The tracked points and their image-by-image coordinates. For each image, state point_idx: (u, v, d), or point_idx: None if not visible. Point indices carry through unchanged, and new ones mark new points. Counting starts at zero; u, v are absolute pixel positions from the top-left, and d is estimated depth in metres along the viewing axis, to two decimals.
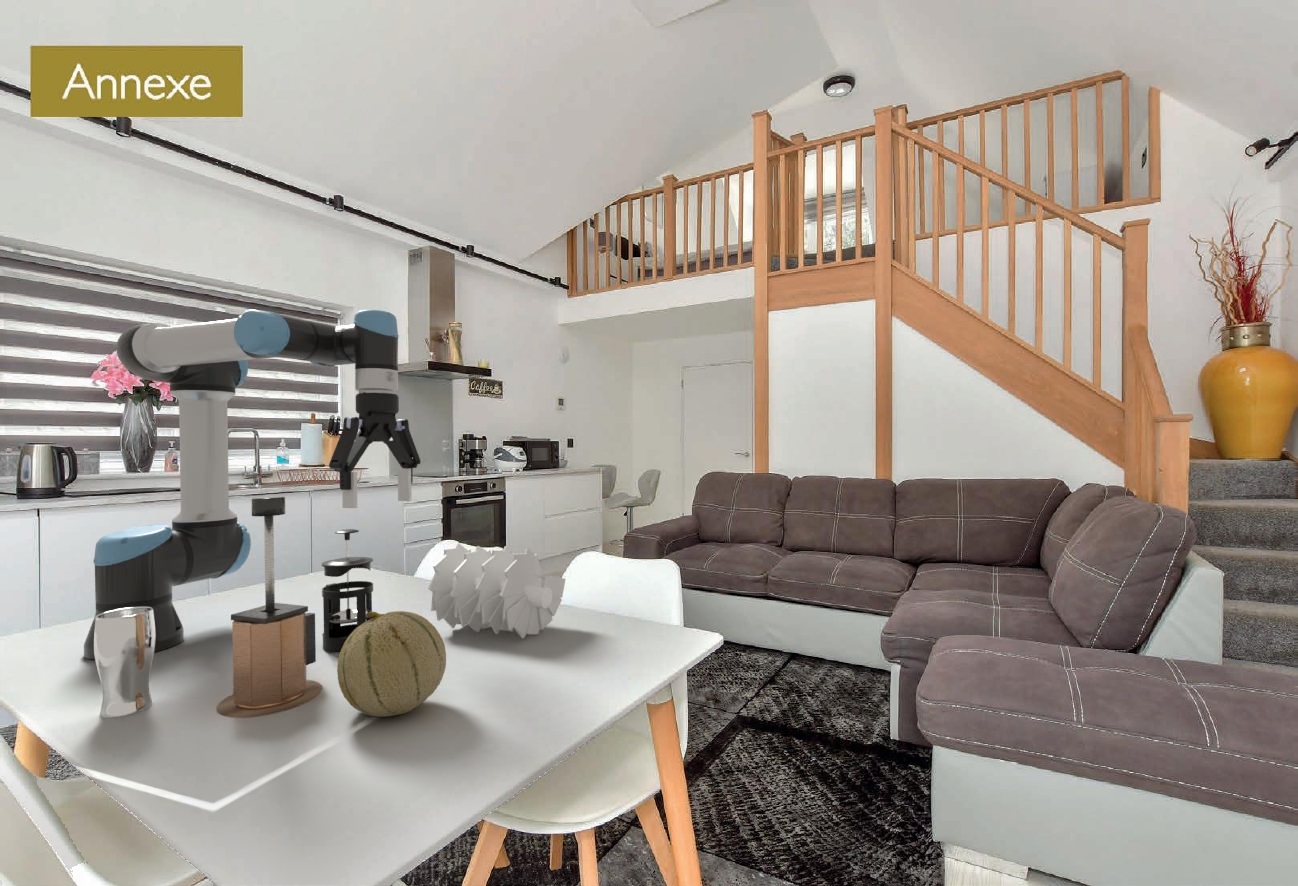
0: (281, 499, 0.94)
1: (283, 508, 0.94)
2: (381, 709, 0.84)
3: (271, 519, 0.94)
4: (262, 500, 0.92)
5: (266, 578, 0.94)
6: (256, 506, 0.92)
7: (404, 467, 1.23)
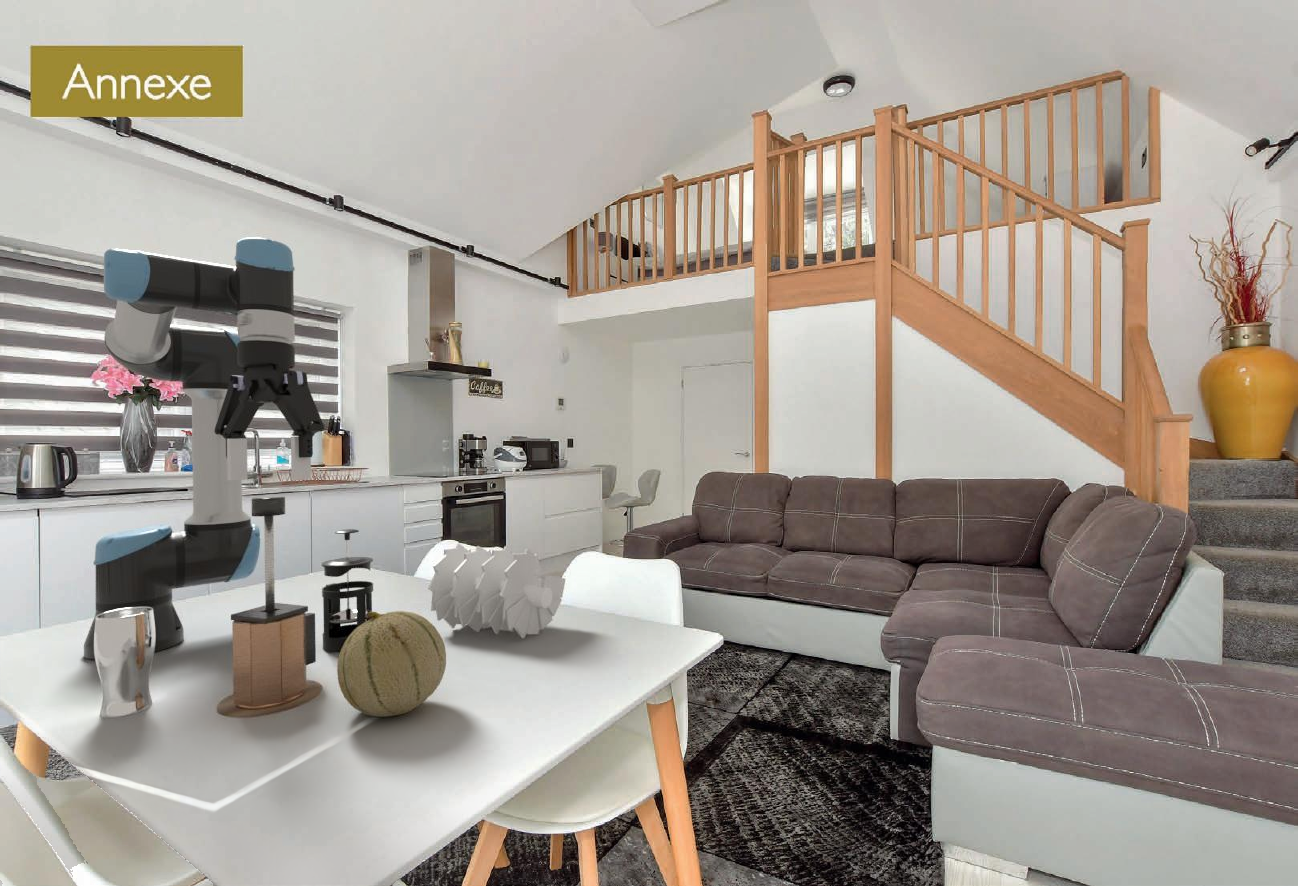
0: (281, 499, 0.94)
1: (283, 508, 0.94)
2: (381, 709, 0.84)
3: (271, 519, 0.94)
4: (262, 500, 0.92)
5: (266, 578, 0.94)
6: (256, 506, 0.92)
7: None
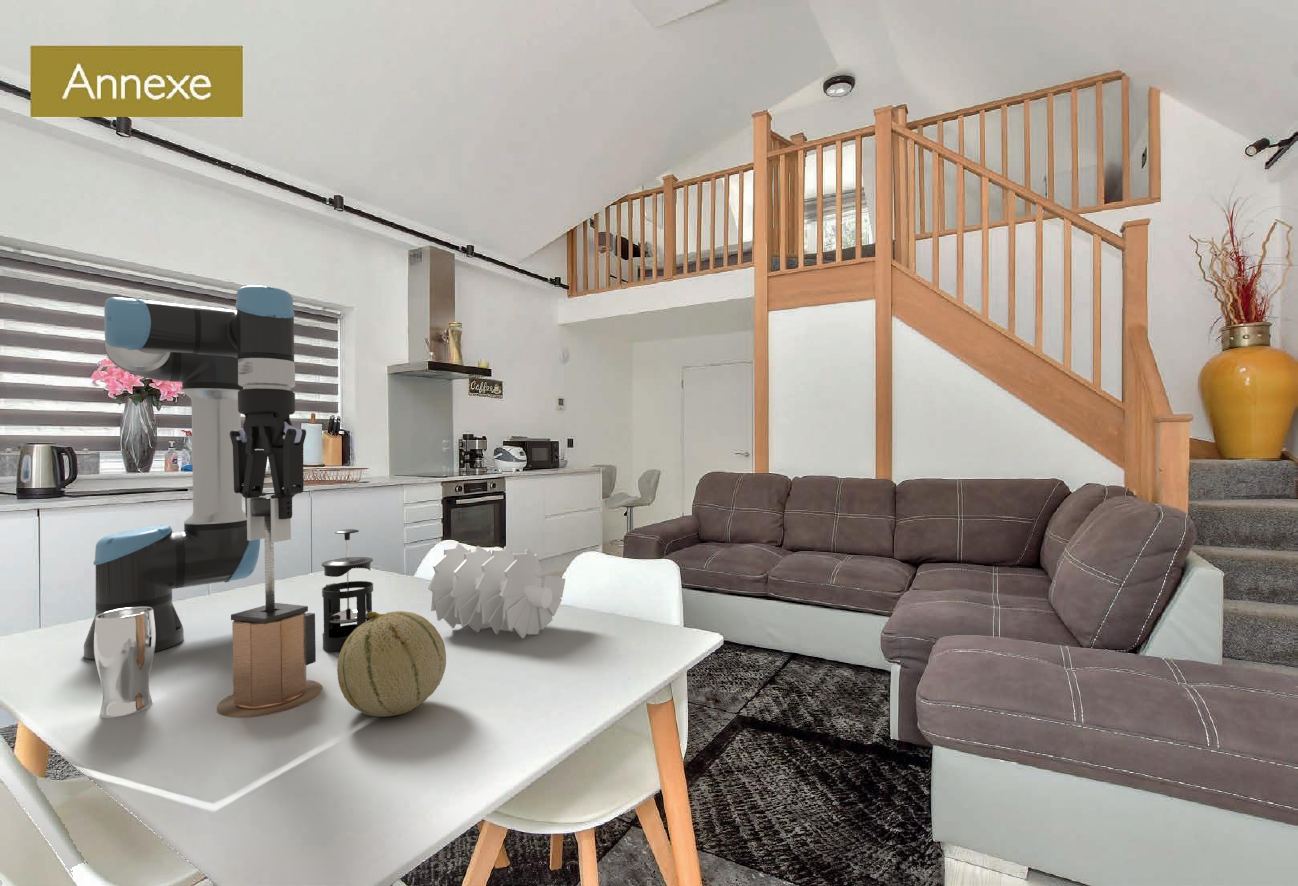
0: None
1: None
2: (381, 709, 0.84)
3: None
4: (262, 500, 0.92)
5: (266, 578, 0.94)
6: (256, 506, 0.92)
7: None
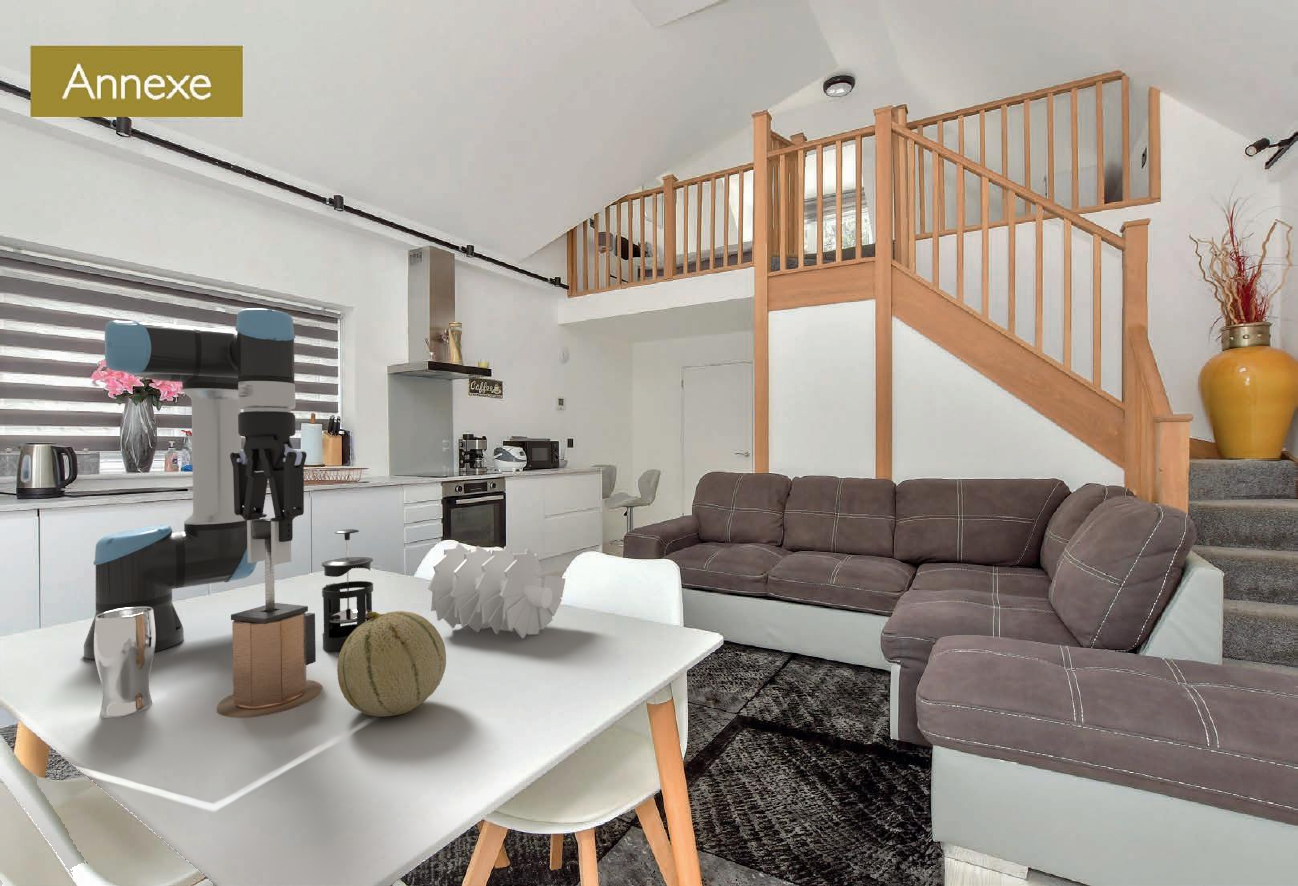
0: None
1: None
2: (381, 709, 0.84)
3: None
4: (262, 523, 0.92)
5: (266, 600, 0.94)
6: (256, 529, 0.92)
7: None
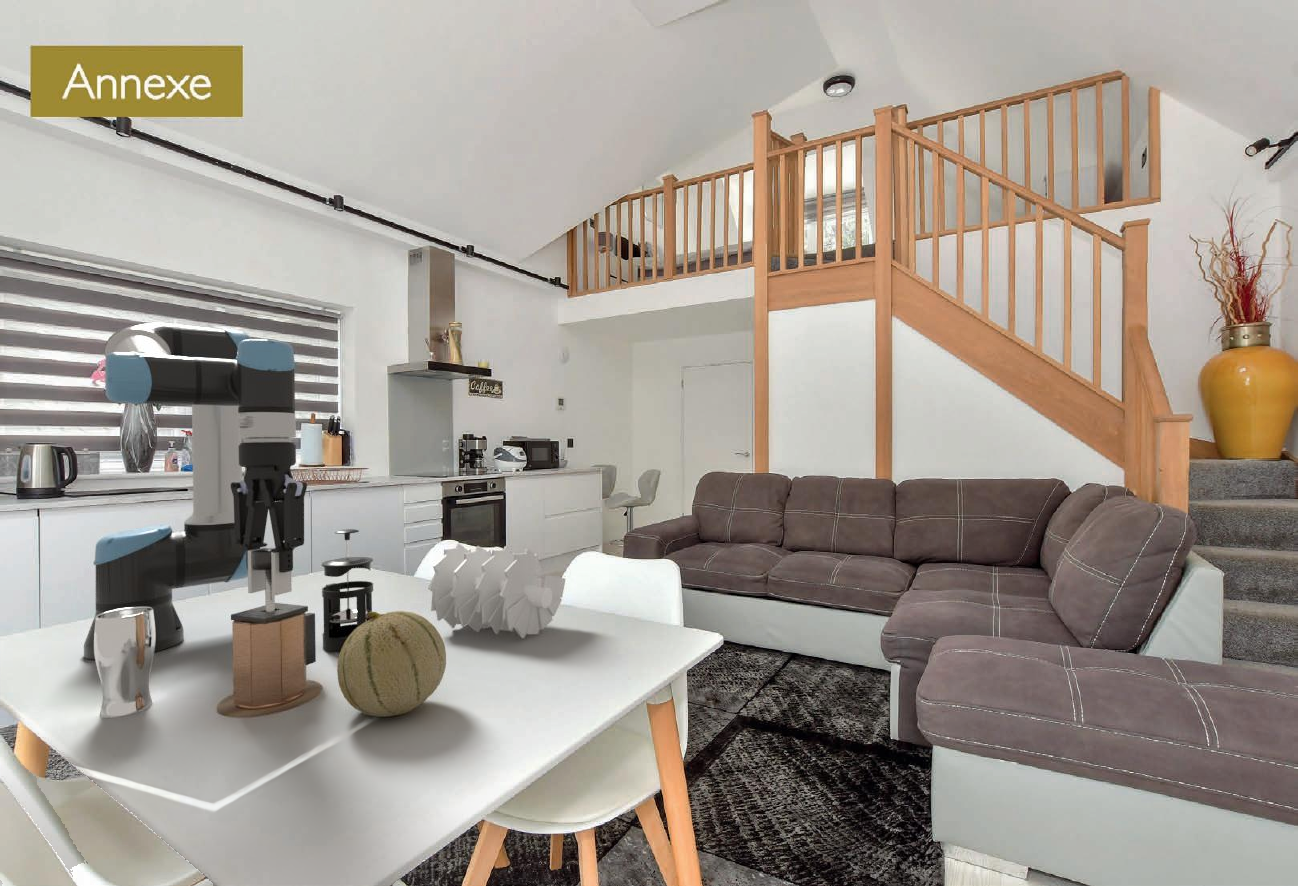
0: None
1: None
2: (381, 709, 0.84)
3: None
4: (263, 554, 0.92)
5: None
6: (257, 560, 0.92)
7: None
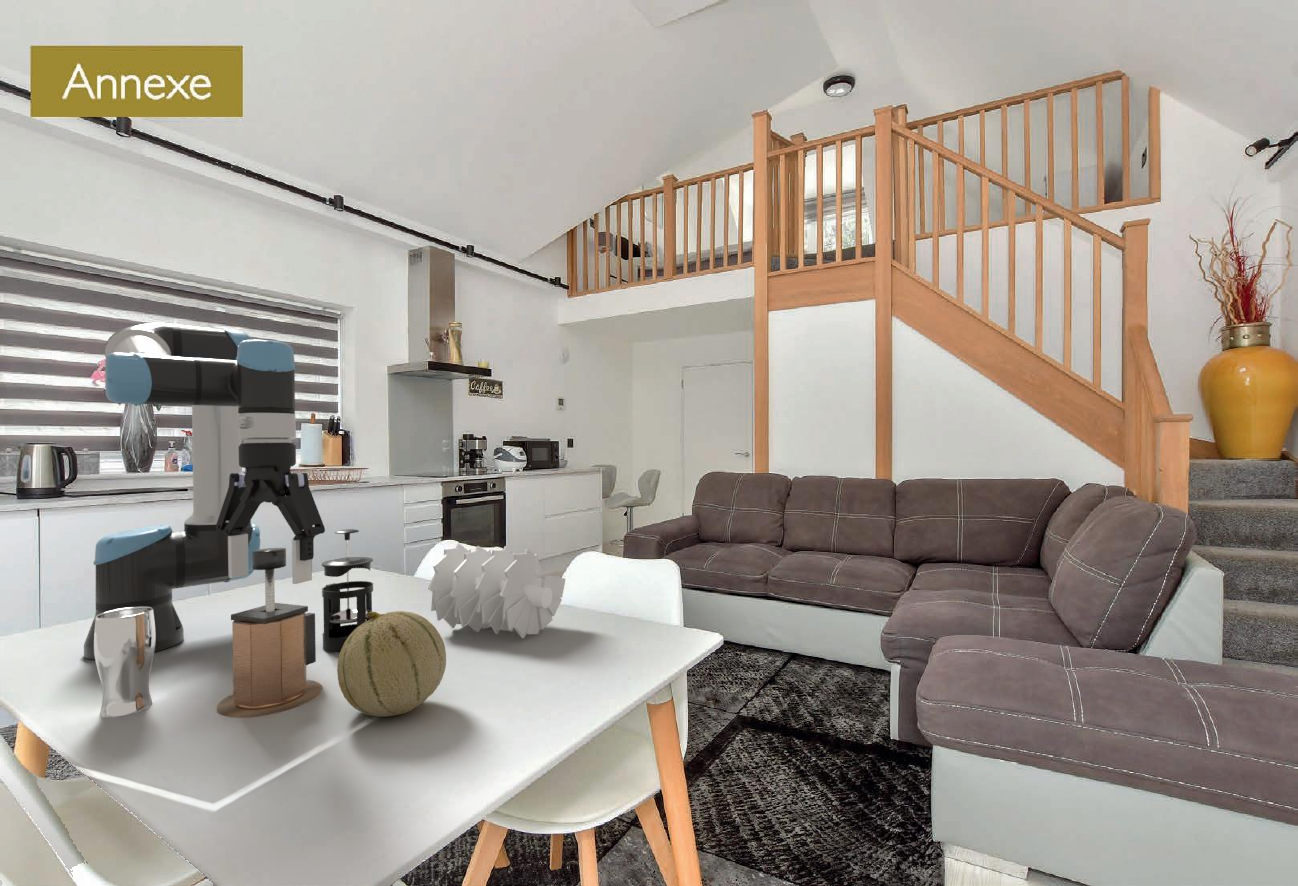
0: (282, 551, 0.94)
1: (284, 560, 0.94)
2: (381, 709, 0.84)
3: (272, 571, 0.94)
4: (263, 554, 0.92)
5: None
6: (257, 560, 0.92)
7: None
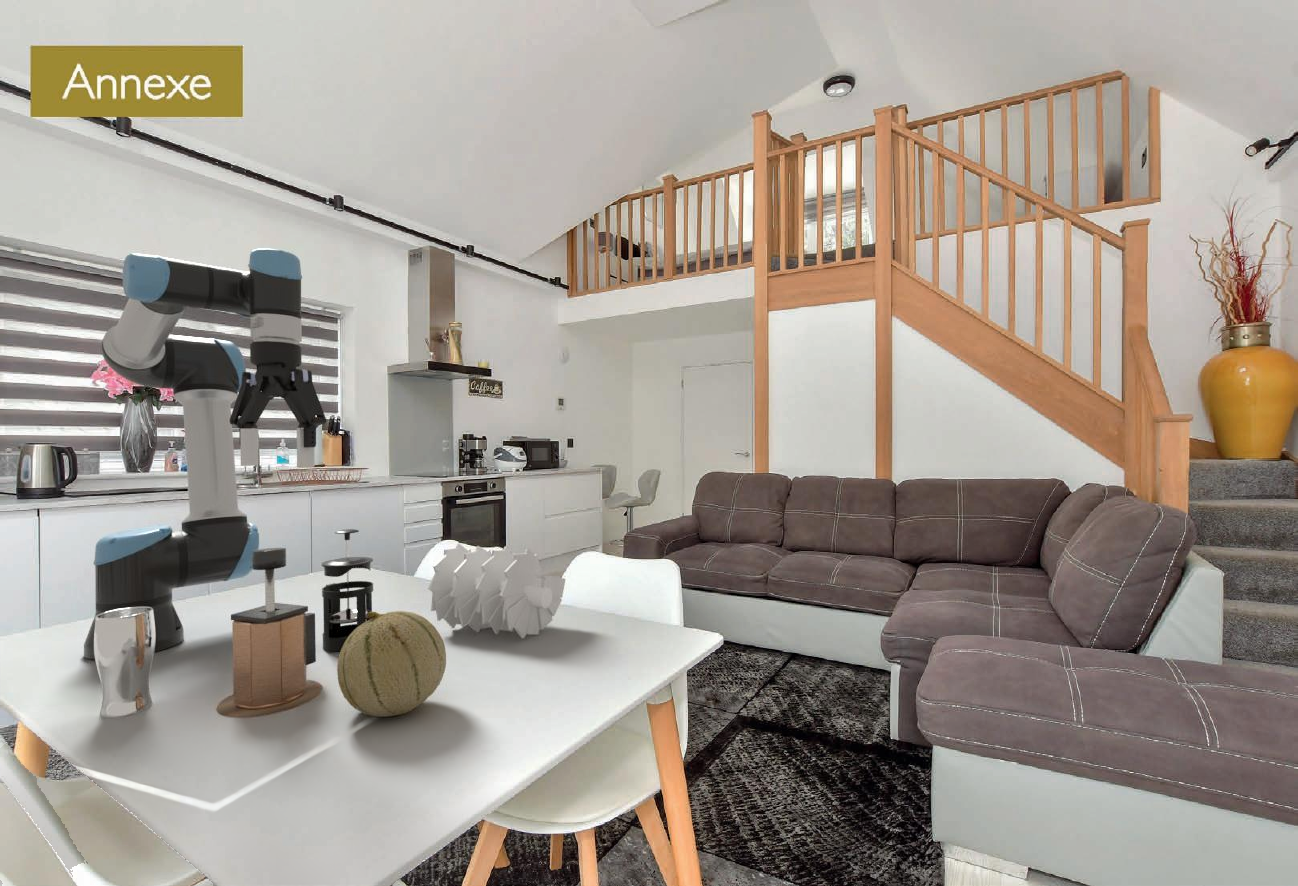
0: (282, 551, 0.94)
1: (284, 560, 0.94)
2: (381, 709, 0.84)
3: (272, 571, 0.94)
4: (263, 554, 0.92)
5: None
6: (257, 560, 0.92)
7: None
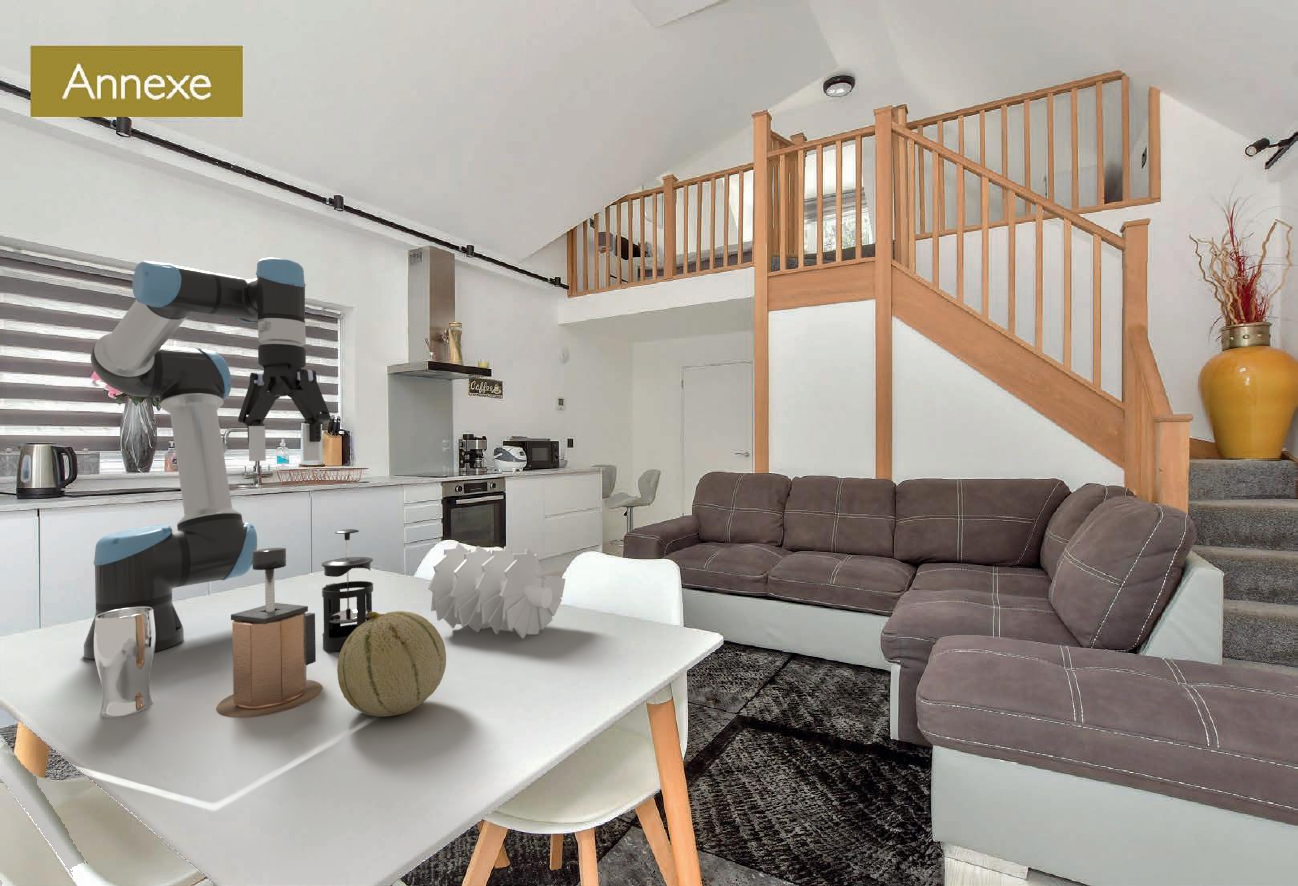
0: (282, 551, 0.94)
1: (284, 560, 0.94)
2: (381, 709, 0.84)
3: (272, 571, 0.94)
4: (263, 554, 0.92)
5: None
6: (257, 560, 0.92)
7: None
